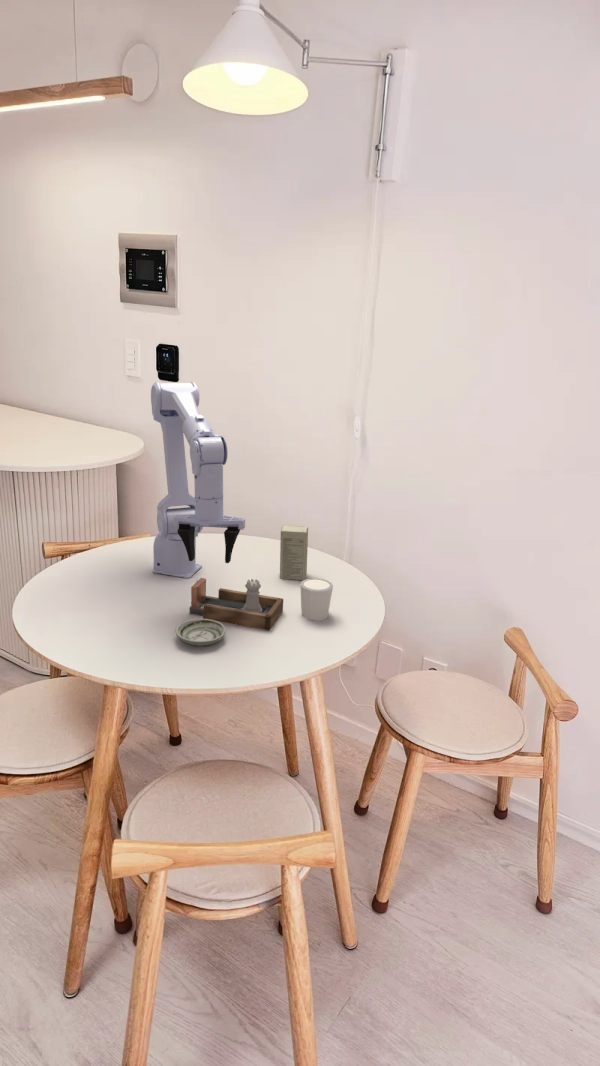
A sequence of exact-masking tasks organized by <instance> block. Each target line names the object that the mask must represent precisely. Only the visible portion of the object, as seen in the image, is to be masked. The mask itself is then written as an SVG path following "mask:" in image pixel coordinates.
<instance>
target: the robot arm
mask: <svg viewBox="0 0 600 1066" xmlns="http://www.w3.org/2000/svg"><path fill="white" fill-rule="evenodd" d="M150 389H151V390H150V404H151V413H152V416H153V420H154V421H155V422H157V423H160V427H161V433H162V440H163V451H164V463H165V474H166V482H167V483H166V485H167V494H166V495H165V496H164V497H163V498H162V499H161V500H160V501H159V502H158V504H157V506H156V510H157V511H156V512H157V513H156V514H157V515H156V524H157V530H158V533H157V534H156V536H155V537H154V540H153V569H152V573H155V574H160V573H161V575H166V576H172V577H179V578H185V579H190V578H191V577H192V576H193V575H194V574H196V572H198V571H199V570H200V569H201V568H202V567H203V565H202V564H201V563H197V562H196V559H197V556H196V554H197V551H196V550H197V547H196V546H197V544H196V543H197V539H196V538H197V537H199V533H201V532H202V530H203V528H221V529H225V530H224V531H223V536H224V544H225V545H224V546H225V553H224V554H225V556H224V561H225V562H224V563H225V564H229V563H231V561H232V560H231V559H232V556H233V555H232V554H233V550H234V546H235V544H236V540H237V539H238V536H239V533H240V532H241V530H243V531H244V530H245V528H246V518H244V517H235V516H229V515H228V516H227V515H224V465H225V464H226V463H227V461H228V445H227V442H226V439H225V436H223V435H220V434H216V432H215V431H214V429H213V427H212V426H211V424H210V422H209V420H208V418H207V417H206V416H204V415H203V414H200V412H199V409H198V407H199V405H200V390H199V387H198V385H197V384H196V383H195V382H194V381H191V382H158V381H154V383H153V384H152V385H151V388H150ZM184 438H185V439H186V442H187V443H188V446H189V457H190V462H191V472H192V474H193V477H194V496H193V495H192V494H190V491H189V481H188V471H187V460H186V449H185V447H186V446H185V439H184ZM179 506H180V507H179ZM181 506H182V507H181ZM183 506H188V507H183ZM170 507H171V508H170ZM172 507H175V508H172ZM177 507H178V508H177Z"/></svg>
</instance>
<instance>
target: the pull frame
mask: <svg viewBox="0 0 600 1066" xmlns="http://www.w3.org/2000/svg"><path fill="white" fill-rule="evenodd" d="M190 591H191V592H190V596H191V597H190V599H191V605H190V607H189V614H194V615H200V616H203V605H204V604H211V605H217V606H223V607H229V608H234V609H240V610H242V609H243V607H244V605H245V604H246V602H240V601H234V600H229V599H223V598H218V597H217V596H210V595H207V578H204V577H200V578H199V579H198V580H197V581H196V582H195V583H193V584H192V586H191V590H190ZM260 606H261V608H262V614H267V613H268V612H269V611H270V609H271V608H272V607H270V606H264V605H260Z"/></svg>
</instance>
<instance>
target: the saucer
mask: <svg viewBox="0 0 600 1066" xmlns="http://www.w3.org/2000/svg"><path fill="white" fill-rule="evenodd" d="M174 632H175V635H176V636H177V637H178V638H179V639H180V640H181V641H183V642H184V643H187V644H189V645H191V646H196V647H203V646H204V647H206V646H209V645H212V644H215V643H217V642H218V641H220V640H221V639H222V638H224V637H225V636H226V633H227V628H226V627H225V625H224V623H222V622H218V621H215V620H210V619H203V618H193V619H187V620H185V621H182V622H180V623H179V624H178V625H177V626H176V628H175V631H174Z"/></svg>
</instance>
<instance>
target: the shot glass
mask: <svg viewBox="0 0 600 1066" xmlns="http://www.w3.org/2000/svg"><path fill="white" fill-rule="evenodd" d="M299 587H300V608H301V609H300V610H301V616H302V617H303V618H305V619H307V620H311V621H321V620H325V619H326V617H327V618H328V616H329V609H330V606H331V601H332V600H331V598H332V594H333V587H334V585H333V583H332V582H331V581H329V580H326V579H324V578H318V577H315V578H306V579H305V580H301V582H300V583H299Z"/></svg>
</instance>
